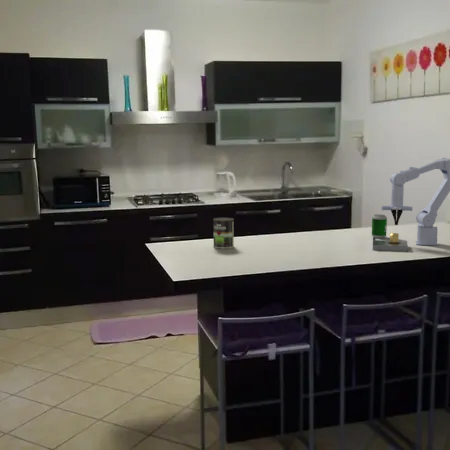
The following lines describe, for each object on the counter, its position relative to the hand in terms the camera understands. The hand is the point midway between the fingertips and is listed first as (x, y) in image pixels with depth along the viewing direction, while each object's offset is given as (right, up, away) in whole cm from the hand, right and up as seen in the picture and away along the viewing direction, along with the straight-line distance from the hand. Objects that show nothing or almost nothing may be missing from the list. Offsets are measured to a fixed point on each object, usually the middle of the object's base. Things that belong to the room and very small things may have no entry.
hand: (396, 224), depth 279 cm
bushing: (-3, -11, -7) cm, 13 cm away
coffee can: (-86, -11, +2) cm, 86 cm away
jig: (-5, -11, -7) cm, 14 cm away
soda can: (-3, -7, +20) cm, 21 cm away
